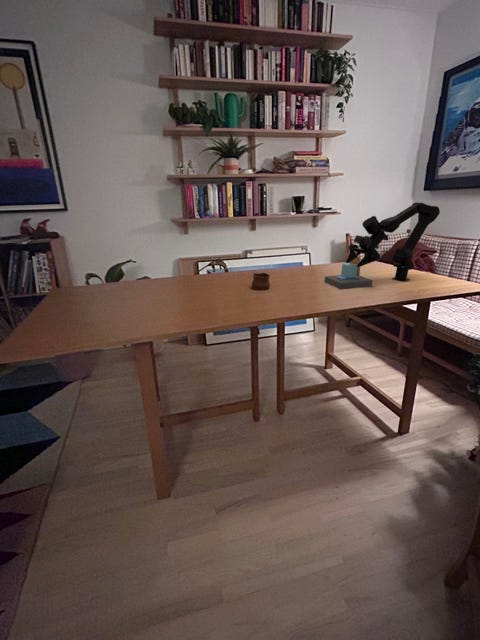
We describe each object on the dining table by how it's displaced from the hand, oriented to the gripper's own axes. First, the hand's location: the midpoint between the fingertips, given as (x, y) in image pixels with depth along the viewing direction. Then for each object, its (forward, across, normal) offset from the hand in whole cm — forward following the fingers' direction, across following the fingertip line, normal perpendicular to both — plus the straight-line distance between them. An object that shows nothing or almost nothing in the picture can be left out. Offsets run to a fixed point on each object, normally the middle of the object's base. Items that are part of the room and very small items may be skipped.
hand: (351, 264), depth 156 cm
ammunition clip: (-2, -17, +16) cm, 24 cm away
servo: (+8, 0, +6) cm, 10 cm away
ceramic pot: (+39, -6, -25) cm, 47 cm away
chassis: (+8, 0, +6) cm, 10 cm away
